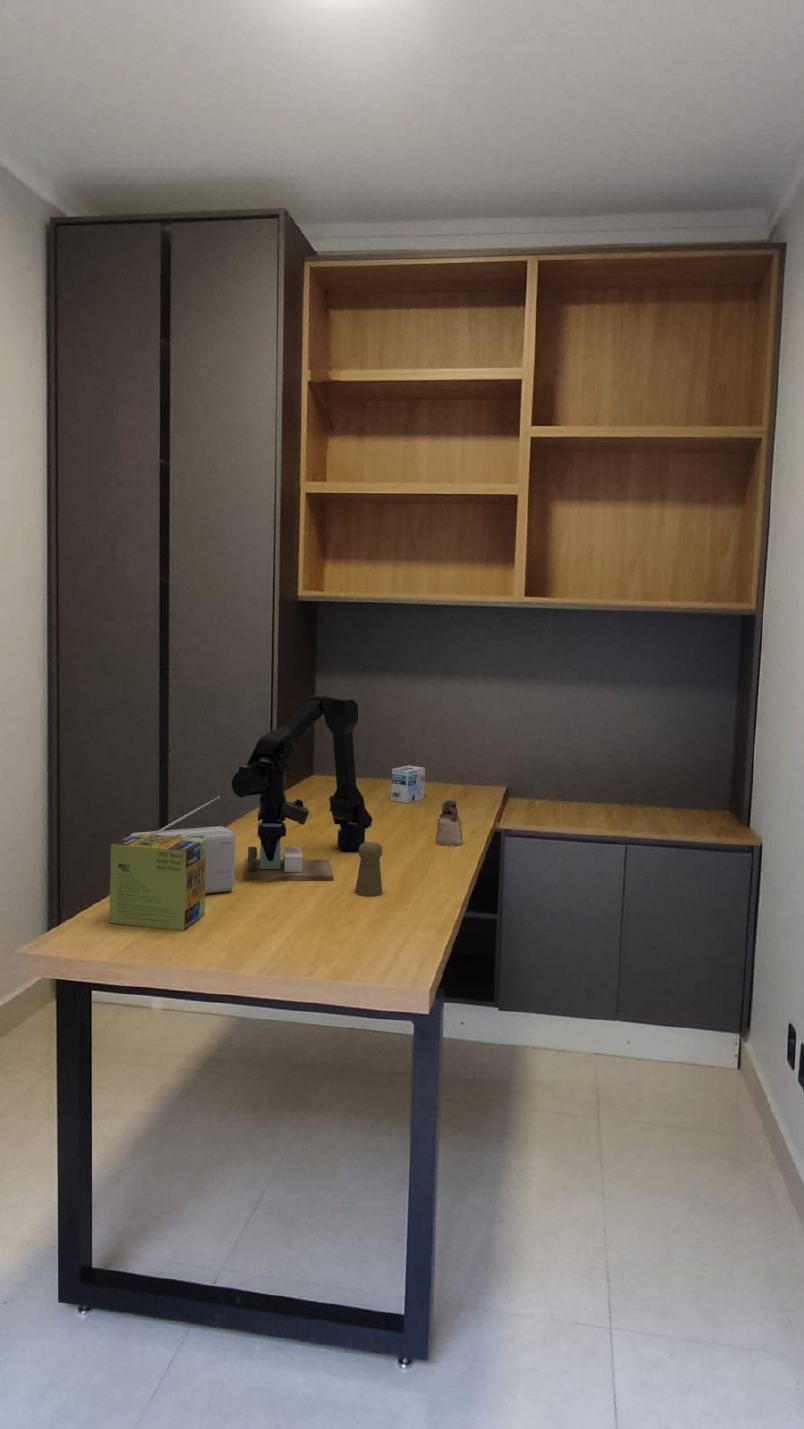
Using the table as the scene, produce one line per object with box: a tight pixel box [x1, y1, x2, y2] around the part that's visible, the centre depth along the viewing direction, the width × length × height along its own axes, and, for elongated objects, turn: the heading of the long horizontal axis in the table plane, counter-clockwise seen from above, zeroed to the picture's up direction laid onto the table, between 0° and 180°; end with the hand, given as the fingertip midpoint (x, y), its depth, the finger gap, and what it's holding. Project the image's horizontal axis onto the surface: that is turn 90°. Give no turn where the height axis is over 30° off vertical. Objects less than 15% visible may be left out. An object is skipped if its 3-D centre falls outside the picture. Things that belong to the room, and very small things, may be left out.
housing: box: [282, 846, 304, 872], centre depth 219 cm, size 4×9×4 cm, turn 9°
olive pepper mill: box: [354, 841, 383, 898], centre depth 206 cm, size 6×6×11 cm
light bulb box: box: [390, 764, 426, 804], centre depth 312 cm, size 11×7×11 cm, turn 147°
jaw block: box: [259, 838, 282, 869], centre depth 219 cm, size 4×4×6 cm
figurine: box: [435, 799, 463, 846], centre depth 254 cm, size 7×7×12 cm
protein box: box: [109, 832, 206, 932], centre depth 182 cm, size 10×15×16 cm
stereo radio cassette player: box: [130, 795, 236, 895], centre depth 199 cm, size 21×8×20 cm, turn 120°
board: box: [243, 846, 335, 882], centre depth 219 cm, size 20×14×5 cm
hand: (270, 857), depth 219 cm, fingers open, 5 cm apart
